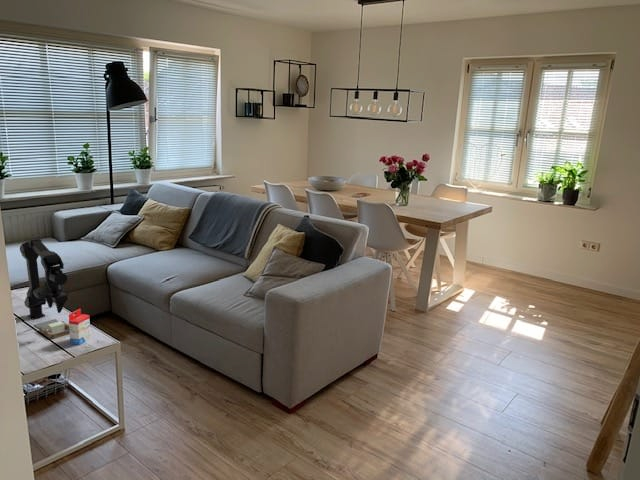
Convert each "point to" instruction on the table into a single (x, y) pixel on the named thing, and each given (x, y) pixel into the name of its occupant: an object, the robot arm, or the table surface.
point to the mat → (45, 324)
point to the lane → (56, 333)
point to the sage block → (56, 327)
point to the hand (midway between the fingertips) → (54, 310)
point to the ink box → (79, 327)
